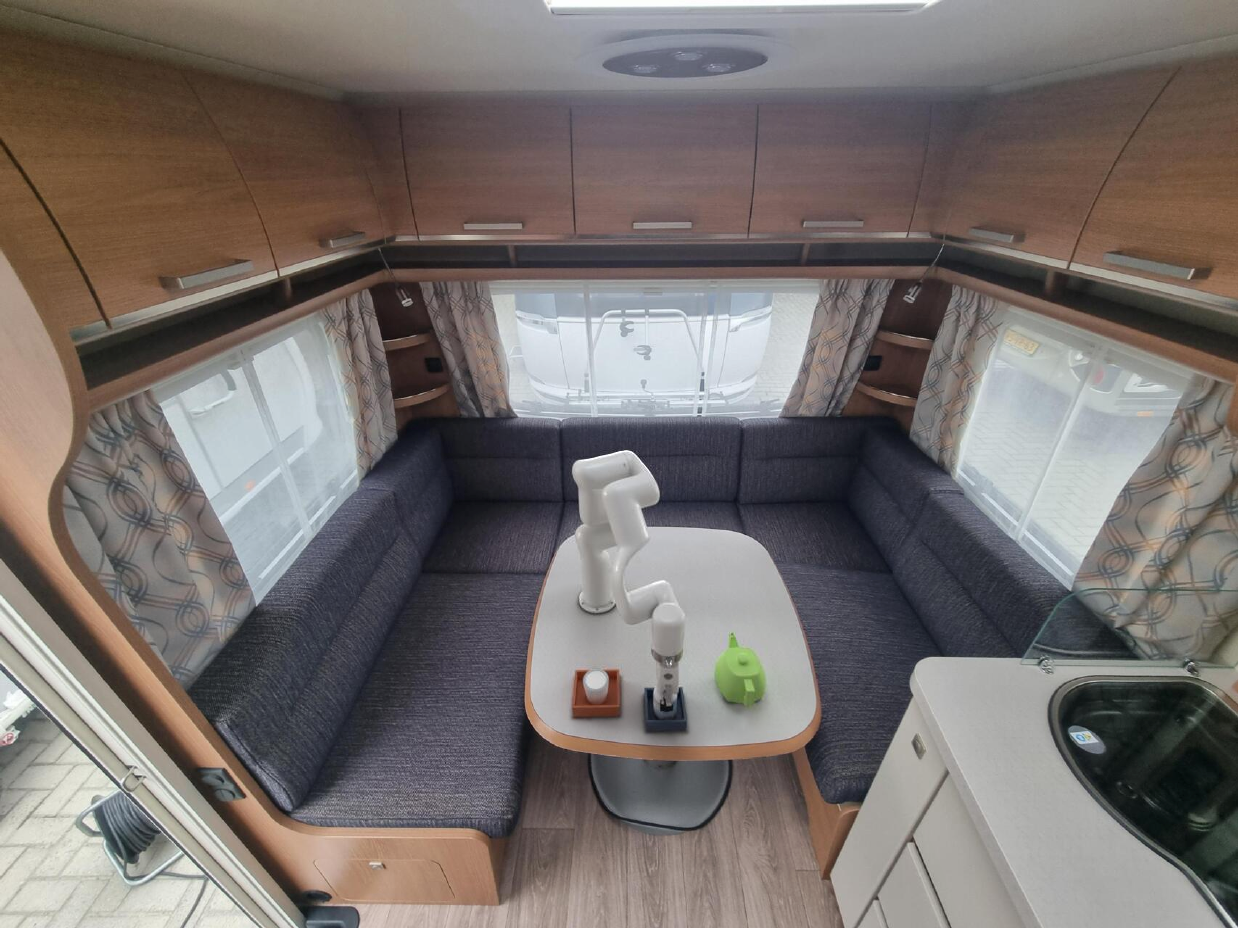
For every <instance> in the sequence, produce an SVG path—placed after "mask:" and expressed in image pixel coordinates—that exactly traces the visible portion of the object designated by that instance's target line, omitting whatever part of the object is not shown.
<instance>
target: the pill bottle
mask: <svg viewBox="0 0 1238 928" xmlns="http://www.w3.org/2000/svg"><path fill="white" fill-rule="evenodd" d="M655 684H656V685H655V686H654V687H655V689H654V693H653V710H654V715H655V717H656V718H657V719H658V720H673V719H674V717H675V715H676V708H677V694H673V700H674V704H673V711H670V712H664V711H660V700H661V694H660V693H659V689H658V681H657V682H656V683H655ZM664 690H665V689H664ZM664 698H666V694H664Z"/></svg>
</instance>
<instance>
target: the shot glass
mask: <svg viewBox="0 0 1238 928" xmlns="http://www.w3.org/2000/svg"><path fill="white" fill-rule="evenodd" d="M588 670H589V671H588V672H587V673H586V674H585V676H584V678H583V684H584V688H585V692H586V696H587V699H588V701H589V702H590V703H591V704H593V705H600V704H603V703H604V702H605V701H606V699H607V694H608V682H609V677H608V675H607V673H606V672H605V671H604V670H605V669H601V668H593V669H588Z"/></svg>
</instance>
